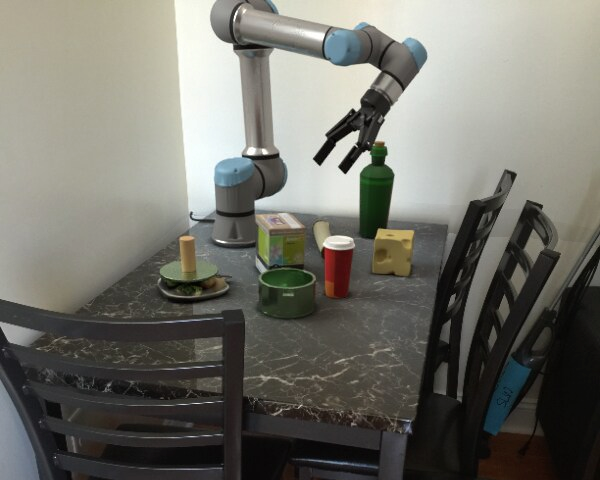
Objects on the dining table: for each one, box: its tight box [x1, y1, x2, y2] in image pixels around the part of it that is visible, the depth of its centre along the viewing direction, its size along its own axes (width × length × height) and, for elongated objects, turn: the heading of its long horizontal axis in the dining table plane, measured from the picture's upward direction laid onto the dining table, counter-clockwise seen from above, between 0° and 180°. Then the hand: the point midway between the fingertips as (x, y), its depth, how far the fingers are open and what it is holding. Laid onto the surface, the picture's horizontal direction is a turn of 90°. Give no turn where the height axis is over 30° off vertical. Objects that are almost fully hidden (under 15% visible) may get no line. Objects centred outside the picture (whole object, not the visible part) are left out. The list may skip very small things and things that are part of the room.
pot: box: [258, 267, 317, 320], centre depth 154 cm, size 13×19×8 cm
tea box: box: [255, 212, 306, 274], centre depth 171 cm, size 15×10×15 cm
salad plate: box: [156, 273, 233, 303], centre depth 164 cm, size 19×18×5 cm
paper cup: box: [323, 235, 356, 299], centre depth 160 cm, size 8×8×14 cm
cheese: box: [372, 228, 415, 277], centre depth 178 cm, size 10×11×10 cm
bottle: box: [358, 140, 395, 239], centre depth 200 cm, size 11×11×28 cm
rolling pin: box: [311, 220, 332, 261], centre depth 194 cm, size 32×6×5 cm, turn 4°
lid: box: [159, 235, 219, 282], centre depth 160 cm, size 14×14×9 cm
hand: (328, 166), depth 166 cm, fingers open, 13 cm apart
